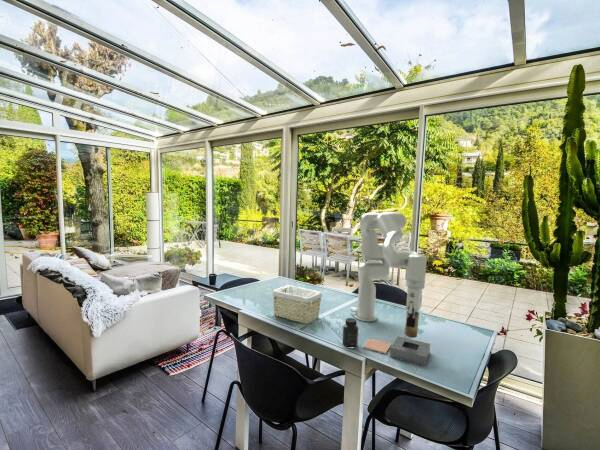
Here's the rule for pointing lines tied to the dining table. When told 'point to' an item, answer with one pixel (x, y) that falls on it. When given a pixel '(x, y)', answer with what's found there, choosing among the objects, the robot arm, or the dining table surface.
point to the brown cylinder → (410, 330)
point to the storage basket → (297, 303)
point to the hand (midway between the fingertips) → (411, 323)
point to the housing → (410, 350)
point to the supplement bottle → (350, 333)
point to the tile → (377, 346)
